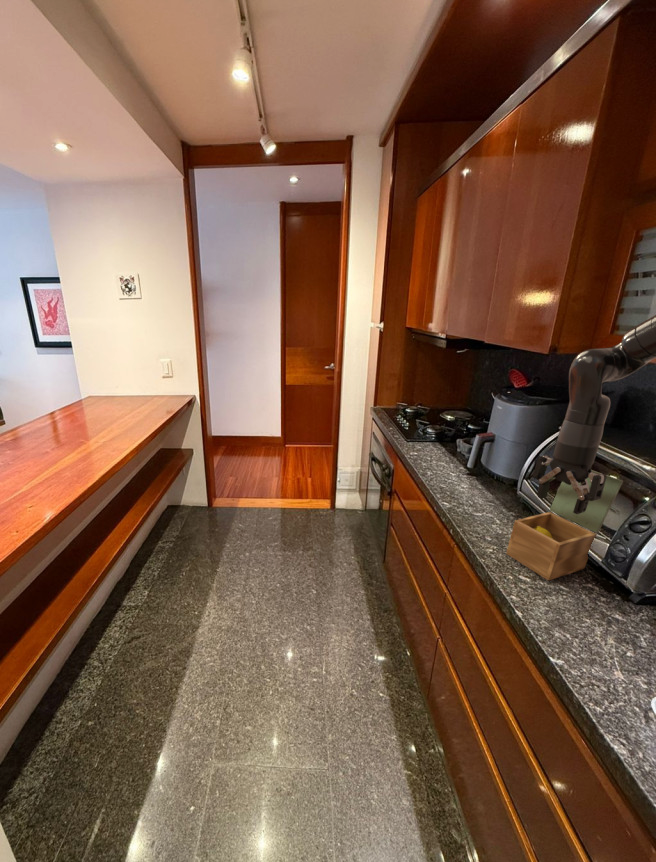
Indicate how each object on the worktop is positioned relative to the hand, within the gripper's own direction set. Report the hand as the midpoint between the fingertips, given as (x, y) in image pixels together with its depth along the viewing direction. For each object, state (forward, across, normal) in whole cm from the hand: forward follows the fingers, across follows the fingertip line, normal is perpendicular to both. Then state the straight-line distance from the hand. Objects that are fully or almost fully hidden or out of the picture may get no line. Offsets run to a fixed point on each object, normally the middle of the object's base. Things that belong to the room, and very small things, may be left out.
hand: (558, 505), depth 92 cm
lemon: (+15, 0, 0) cm, 15 cm away
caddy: (+17, 0, -1) cm, 17 cm away
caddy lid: (-1, 0, -8) cm, 8 cm away
